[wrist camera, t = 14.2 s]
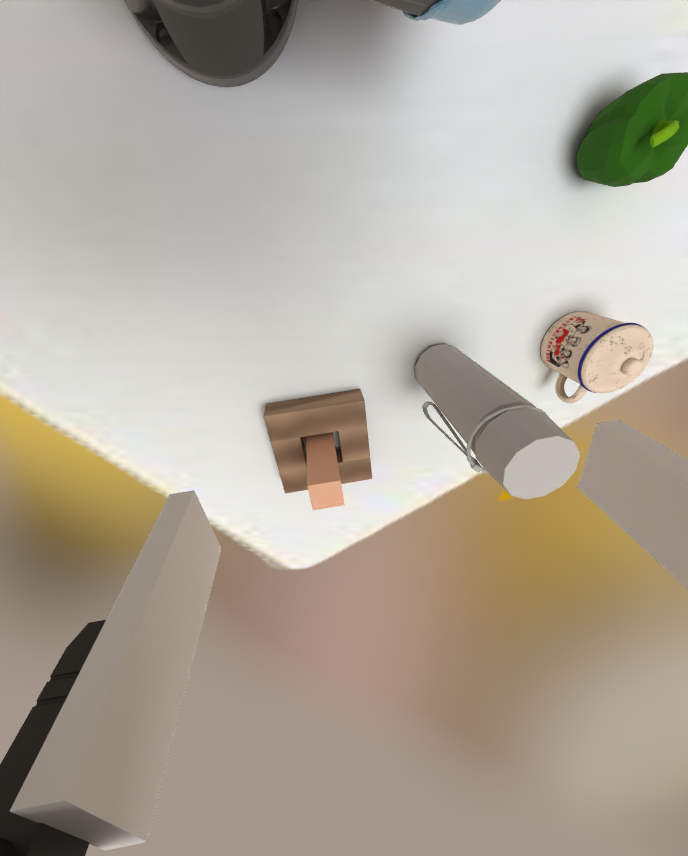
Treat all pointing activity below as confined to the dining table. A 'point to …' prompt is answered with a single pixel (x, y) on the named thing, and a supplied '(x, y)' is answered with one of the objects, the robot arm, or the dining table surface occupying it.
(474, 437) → the water bottle
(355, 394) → the socket block
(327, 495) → the peg
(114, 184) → the dining table surface
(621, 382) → the teacup with lid
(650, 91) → the bell pepper
